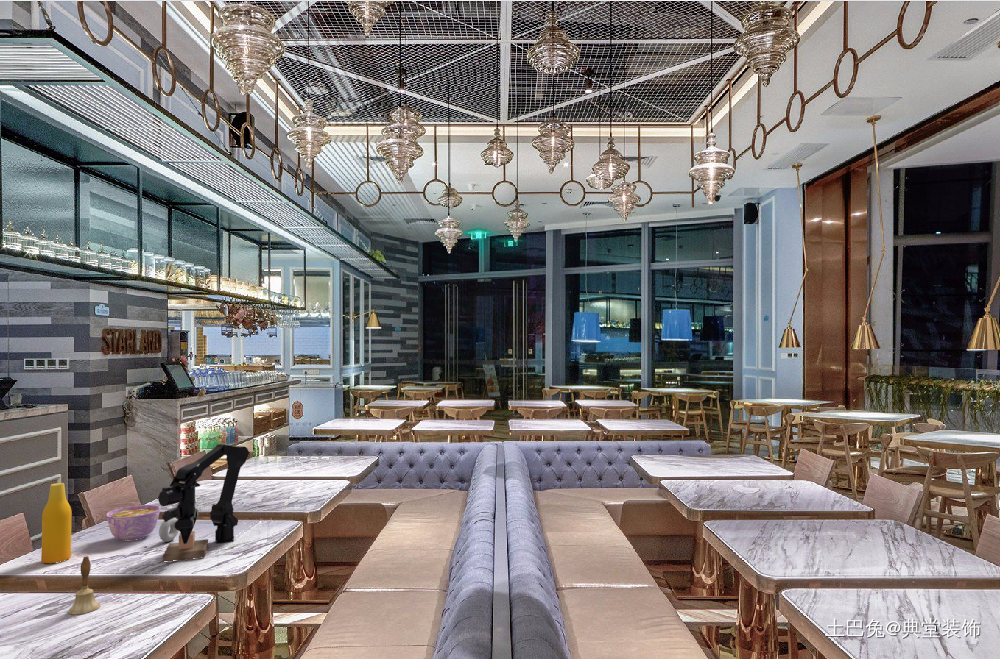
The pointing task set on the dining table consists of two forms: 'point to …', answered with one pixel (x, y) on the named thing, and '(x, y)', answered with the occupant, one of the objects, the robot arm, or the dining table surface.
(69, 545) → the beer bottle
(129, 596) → the dining table surface
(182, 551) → the walnut base
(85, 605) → the hand bell
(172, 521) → the donut
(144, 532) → the bowl of food
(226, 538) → the robot arm
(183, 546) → the terracotta block
